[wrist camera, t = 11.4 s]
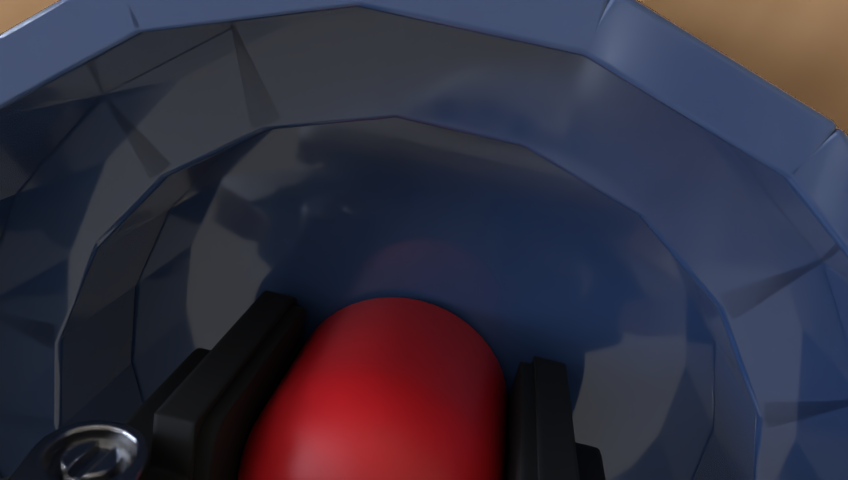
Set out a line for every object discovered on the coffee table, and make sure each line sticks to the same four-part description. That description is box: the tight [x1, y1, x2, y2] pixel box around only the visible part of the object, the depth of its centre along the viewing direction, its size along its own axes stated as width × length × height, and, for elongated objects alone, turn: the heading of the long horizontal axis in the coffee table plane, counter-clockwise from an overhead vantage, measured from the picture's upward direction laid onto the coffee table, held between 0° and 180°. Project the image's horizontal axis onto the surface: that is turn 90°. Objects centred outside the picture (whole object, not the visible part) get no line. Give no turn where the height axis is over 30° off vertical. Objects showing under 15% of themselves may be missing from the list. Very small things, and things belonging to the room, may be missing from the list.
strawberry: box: [238, 297, 507, 480], centre depth 10 cm, size 4×4×5 cm
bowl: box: [0, 0, 848, 480], centre depth 11 cm, size 14×14×5 cm
